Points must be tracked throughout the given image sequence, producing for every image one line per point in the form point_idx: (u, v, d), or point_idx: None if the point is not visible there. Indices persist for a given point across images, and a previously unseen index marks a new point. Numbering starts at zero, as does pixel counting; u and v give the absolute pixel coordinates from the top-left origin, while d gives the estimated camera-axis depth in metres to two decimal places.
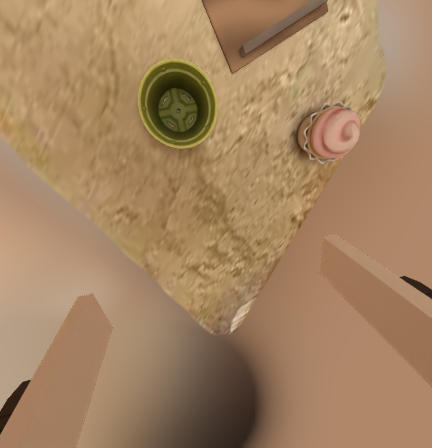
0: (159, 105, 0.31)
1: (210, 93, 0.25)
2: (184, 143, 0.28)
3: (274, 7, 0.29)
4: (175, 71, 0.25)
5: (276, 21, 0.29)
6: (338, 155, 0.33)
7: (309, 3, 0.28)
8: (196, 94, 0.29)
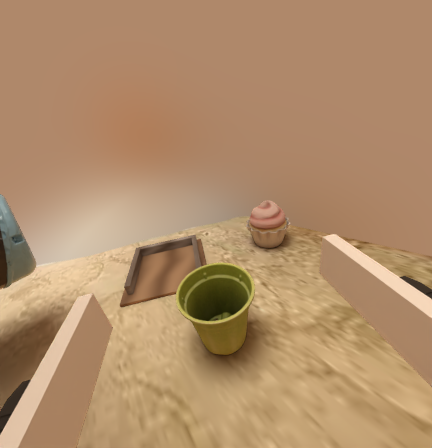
0: None
1: (214, 269, 0.29)
2: None
3: (186, 259, 0.44)
4: (189, 296, 0.27)
5: (193, 258, 0.44)
6: (282, 211, 0.43)
7: (192, 241, 0.47)
8: (214, 301, 0.30)
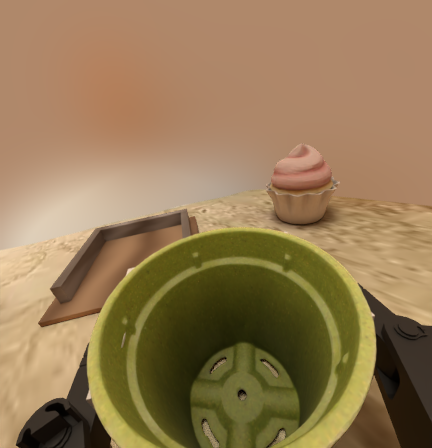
0: None
1: (218, 244, 0.12)
2: (340, 321, 0.07)
3: (171, 243, 0.28)
4: (152, 313, 0.10)
5: None
6: (326, 163, 0.26)
7: (182, 216, 0.30)
8: (217, 319, 0.13)
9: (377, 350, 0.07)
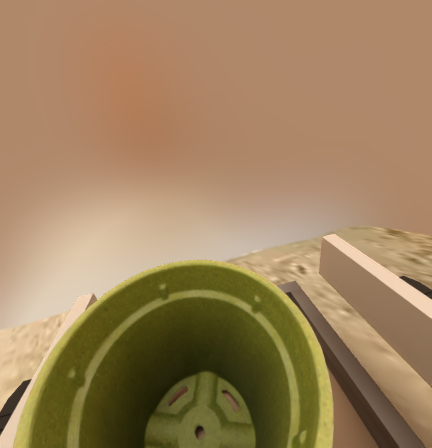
0: None
1: (188, 276, 0.11)
2: (301, 385, 0.07)
3: None
4: (108, 354, 0.09)
5: None
6: None
7: (304, 307, 0.16)
8: (181, 349, 0.13)
9: None
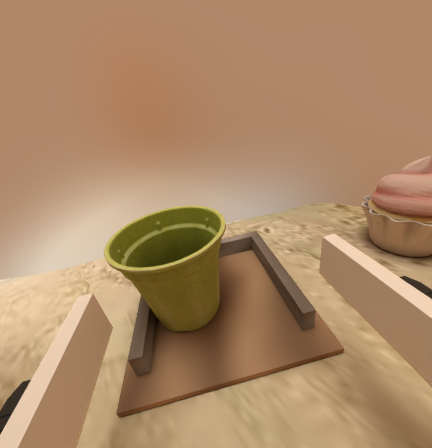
0: None
1: (171, 216, 0.20)
2: (219, 240, 0.16)
3: (251, 280, 0.22)
4: (133, 252, 0.18)
5: (266, 278, 0.22)
6: None
7: (257, 243, 0.25)
8: None
9: None
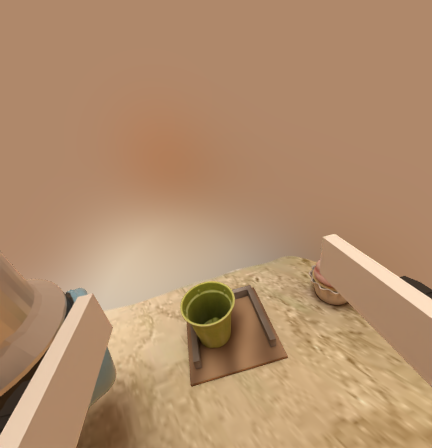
0: None
1: (205, 286, 0.39)
2: None
3: (247, 318, 0.41)
4: (188, 308, 0.37)
5: (255, 317, 0.41)
6: None
7: (250, 295, 0.43)
8: (206, 310, 0.41)
9: None
